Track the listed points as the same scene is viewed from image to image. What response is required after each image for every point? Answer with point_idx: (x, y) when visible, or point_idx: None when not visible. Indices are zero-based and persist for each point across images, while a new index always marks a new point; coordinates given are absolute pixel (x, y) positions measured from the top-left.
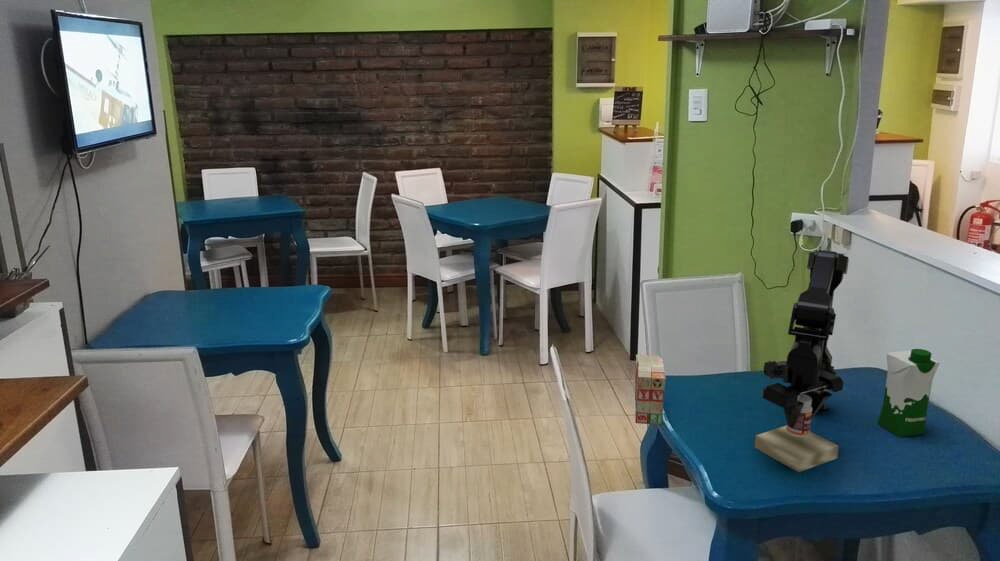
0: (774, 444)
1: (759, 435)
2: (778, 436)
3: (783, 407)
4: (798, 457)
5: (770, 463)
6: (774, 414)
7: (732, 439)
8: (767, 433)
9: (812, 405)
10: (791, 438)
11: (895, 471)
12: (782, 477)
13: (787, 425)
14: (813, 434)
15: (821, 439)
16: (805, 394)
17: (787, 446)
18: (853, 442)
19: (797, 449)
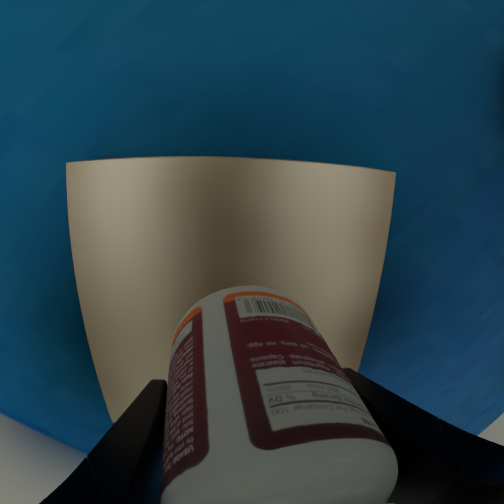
0: (87, 294)
1: (84, 173)
2: (176, 241)
3: (51, 501)
4: (115, 411)
5: (64, 297)
6: (434, 24)
7: (73, 52)
8: (147, 176)
9: (393, 498)
10: None
11: None
12: (52, 373)
13: (179, 345)
14: (365, 310)
15: (346, 357)
16: (481, 497)
17: (135, 341)
18: (453, 317)
19: (160, 378)
